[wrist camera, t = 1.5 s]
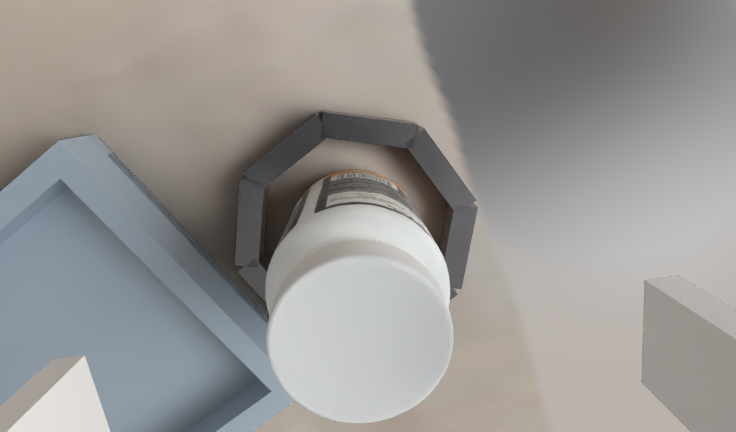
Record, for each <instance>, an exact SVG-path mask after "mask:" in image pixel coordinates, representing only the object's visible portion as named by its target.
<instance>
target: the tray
mask: <svg viewBox="0 0 736 432" xmlns="http://www.w3.org/2000/svg"><path fill="white" fill-rule="evenodd" d="M268 321H269V319H268V317H267V316H266V315H265V314H264V313H263V312H262V311H261V310H260V309H259V308H258V307H257V306H256V305H255V304H254V303H253V302H252V300H251V299H250V298H249V297H248V296H247V295H246V294H245V293H244V292H243V291H242V290H241V289H240V288H239V287H238V286H237V285H236V283H235V282H234V281H233V280H232V279H231V278H230V277H229V276H228V275H227V274H226V273H225V272H224V271H223V270H222V269H221V268H220V266H219V265H218V264H217V263H216V262H215V261H214V260H213V259H212V258H211V257H210V256H209V255H208V254H207V253H206V252H205V251H204V249H203V248H202V247H201V246H200V245H199V244H198V243H197V242H196V241H195V240H194V239H193V238H192V237H191V236H190V235H189V234H188V232H187V231H186V230H185V229H184V228H183V227H182V226H181V225H180V224H179V223H178V222H177V221H176V220H175V219H174V218H173V217H172V215H171V214H170V213H169V212H168V211H167V210H166V209H165V208H164V207H163V206H162V205H161V204H160V203H159V202H158V201H157V200H156V198H155V197H154V196H153V195H152V194H151V193H150V192H149V191H148V190H147V189H146V188H145V187H144V186H143V185H142V184H141V183H140V181H139V180H138V179H137V178H136V177H135V176H134V175H133V174H132V173H131V172H130V171H129V170H128V169H127V168H126V167H125V166H124V164H123V163H122V162H121V161H120V160H119V159H118V158H117V157H116V156H115V155H114V154H113V153H112V152H111V151H110V150H109V149H108V147H107V146H106V145H105V144H104V143H103V142H102V141H101V140H100V139H99V138H98V137H97V136H96V135H95V134H91V135H86V136H81V137H75V138H70V139H65V140H59V141H57V142H56V143H55V144H54V145H53V146H52V147H50V148H49V149H48V150H47V151H46V152H45V153H44V154H43V155H41V156H40V157H39V158H38V159H37V160H36V161H35V162H33V163H32V164H31V165H30V166H29V167H28V168H27V169H26V170H24V171H23V172H22V173H21V174H20V175H19V176H18V177H16V178H15V179H14V180H13V181H12V182H11V183H10V184H9V185H7V186H6V187H5V188H4V189H3V190H2V191H1V192H0V406H1V405H2V404H3V403H4V402H5V401H7V400H8V399H9V398H10V397H11V396H12V395H13V394H14V393H16V392H17V391H18V390H19V389H20V388H21V387H22V386H23V385H25V384H26V383H27V382H28V381H29V380H30V379H31V378H32V377H34V376H35V375H36V374H37V373H38V372H39V371H40V370H41V369H43V368H44V367H45V366H46V365H47V364H48V363H49V362H50V361H52V360H55V359H62V358H70V357H77V356H85V358H86V361H87V364H88V367H89V370H90V373H91V376H92V379H93V382H94V385H95V388H96V391H97V393H98V396H99V399H100V402H101V405H102V408H103V411H104V414H105V417H106V420H107V423H108V426H109V429H110V432H251V431H253V430H254V429H256V428H257V427H258V426H260V425H261V424H263V423H264V422H266V421H267V420H268V419H270V418H271V417H273V416H274V415H276V414H277V413H278V412H280V411H281V410H283V409H284V408H286V407H287V406H288V405H290V404H291V403H293V402H294V401H295V400H294V399H292V398H291V397H290V396H289V395H288V394H287V392H286V391H285V390H284V389H283V387H282V386H281V385H280V383H279V382H278V380H277V378H276V376H275V375H274V372H273V370H272V368H271V365H270V362H269V359H268V354H267V346H266V333H267V326H268Z"/></svg>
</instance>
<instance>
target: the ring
mask: <svg viewBox="0 0 736 432" xmlns="http://www.w3.org/2000/svg"><path fill="white" fill-rule="evenodd" d="M417 125H418V124H416V123H414V122H409V121H401V120H394V119H386V118H378V117H371V116H363V115H355V114H348V113H340V112H332V111H324V112H323V118H321V116H320V115H319V114H318V113H316V114H315V115H314V116H313V117H311V118H310V119H309V120H308V121H306V122H305V123H304V124H303V125H301V126H300V127H299V128H298V129H296V130H295V131H294V132H293V133H291V134H290V135H289V136H288V137H286V138H285V139H284V140H283V141H281V142H280V143H279V144H278V145H277V146H275V147H274V148H273V149H272V150H270V151H269V152H268V153H267V154H265V155H264V156H263V157H262V158H260V159H259V160H258V161H257V162H255V163H254V164H253V165H252V166H250V167H249V168H248V169H247V170H245V171H244V172H243V173H244V174H245V175H244V176H243V177H242V178H240V181H239V199H238V216H237V234H236V252H235V265H236V266H241V267H240V268H239V270H238V273H239V274H240V275H241V277H242V278H243V279H244V280H245V281H246V282H247V283H248V284H249V285H250V286H251V287H252V288H253V289H254V291H255V292H256V293H257V294H258V295H259V296H260V297H261V298H262V299H263V300H264V301H265V302H266V296H265V281H266V275H267V271H268V267H269V264H270V260H269V258H268V257H267V256H266V255H265V254H264V240H265V226H266V213H267V199H268V185H269V183H271V182H272V181H273V180H274V179H276V178H277V177H278V176H279V175H281V174H282V173H283V172H284V171H286V170H287V169H288V168H290V167H291V166H292V165H293V164H295V163H296V162H297V161H298V160H300V159H301V158H302V157H303V156H305V155H306V154H307V153H308V152H310V151H311V150H312V149H313V148H315V147H316V146H317V145H319V144H320V143H321V142H322V141H324V140H325V139H326V138H330V139H338V140H346V141H354V142H362V143H370V144H377V145H385V146H393V147H401V148H407V149H408V150H409V152H410V153H411V154H412V156H413V157H414V158H415V160H416V161H417V162H418V164H419V165H420V166H421V168H422V169H423V170H424V172H425V173H426V175H427V176H428V177H429V179H430V180H431V181H432V183H433V184H434V185H435V187H436V188H437V189H438V191H439V192H440V193H441V195H442V196H443V197H444V199H445V200H446V201H447V203H448V205H447V211H446V216H445V222H444V227H443V233H442V238H441V244H440V251H441V253H442V255H443V257H444V260H445V262H446V265H447V269H448V273H449V280H450V300H451V299H452V298H454V297H455V296H456V295H457V293H456V291H455V289H454V288H456V289H461V288H462V283H463V278H464V273H465V268H466V263H467V258H468V253H469V249H470V244H471V239H472V234H473V229H474V224H475V219H476V214H477V209H478V207H477V206H476V205H475V204H474V203H473V202H475V201H476V199H475V198H474V196H473V195H472V194H471V192H470V191H469V190H468V188H467V187H466V185H465V184H464V183H463V181H462V180H461V179H460V177H459V176H458V174H457V173H456V172H455V170H454V169H453V167H452V166H451V165H450V163H449V162H448V161H447V159H446V158H445V156H444V155H443V154H442V152H441V151H440V149H439V148H438V147H437V145H436V144H435V143H434V141H433V140H432V138H431V137H430V136H429V134H428V133H427V131H426V130H425V129H424V128H423V127H421V126H419V127H418V128H417Z"/></svg>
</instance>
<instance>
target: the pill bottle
mask: <svg viewBox="0 0 736 432" xmlns="http://www.w3.org/2000/svg"><path fill="white" fill-rule="evenodd" d="M265 296H266V304H267V309H268V314H269V321H268V326H267V333H266V346H267V354H268V359H269V362H270V365H271V368H272V370H273V372H274V375H275V376H276V378H277V380H278V382H279V383H280V385H281V386H282V387H283V389H284V390H285V391H286V392H287V394H288V395H289V396H290V397H291V398H292V399H294V400H295V401H296V402H297V403H298V404H300V405H301V406H302V407H304V408H306V409H307V410H309V411H311V412H313V413H315V414H317V415H319V416H322V417H325V418H328V419H331V420H334V421H339V422H346V423H369V422H376V421H381V420H385V419H389V418H391V417H394V416H397V415H399V414H401V413H403V412H405V411H407V410H409V409H411V408H412V407H414V406H416V405H417V404H418V403H419V402H421V401H422V400H423V399H424V398H425V397H427V396H428V395H429V394H430V393H431V391H432V390H433V389H434V388H435V387H436V386H437V384H438V383H439V381H440V380H441V378H442V376H443V375H444V373H445V371H446V369H447V366H448V363H449V361H450V358H451V353H452V348H453V324H452V319H451V315H450V312H449V309H448V307H449V301H450V280H449V273H448V269H447V265H446V262H445V260H444V257H443V255H442V253H441V251H440V249H439V247H438V245H437V244H436V243H435V241H434V239H433V238H432V236H431V234H430V233H429V231H428V229H427V228H426V226H425V224H424V223H423V221H422V219H421V218H420V216H419V214H418V212H417V210H416V209H415V207H414V205H413V203H412V202H411V200H410V199H409V198H408V196H407V195H406V194H405V192H404V191H403V190H402V189H401V188H400V187H399V186H397V185H396V184H395V183H394V182H392V181H391V180H389V179H388V178H386V177H384V176H382V175H379V174H377V173H374V172H370V171H365V170H344V171H340V172H336V173H333V174H330V175H328V176H326V177H323V178H322V179H320V180H319V181H317V182H316V183H314V184H313V185H312V186H311V187H310V188H309V189H308V190H307V191H306V192H305V193H304V194H303V196H302V197H301V198H300V200H299V201H298V203H297V204H296V206H295V208H294V210H293V212H292V214H291V217H290V219H289V221H288V224H287V226H286V228H285V230H284V232H283V234H282V236H281V238H280V241H279V243H278V245H277V247H276V249H275V251H274V253H273V256H272V258H271V261H270V264H269V267H268V271H267V275H266V281H265Z"/></svg>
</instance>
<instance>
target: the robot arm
mask: <svg viewBox="0 0 736 432" xmlns="http://www.w3.org/2000/svg"><path fill="white" fill-rule="evenodd" d="M643 314H644V315H643V347H642V383H643V384H644V385H645V386H646V387H647V388H648V389H649V390H650V391H651V392H652V393H653V394H654V395H655V397H656V398H657V399H658V400H660V402H662V404H664V406H665V407H666V408H667V409H668V410H669V411H670V412H671V413H672V414H673V415H674V416H675V417H677V419H678V420H679V421H680V422H681V423H682V424H683V425H684V426H685V427H686V428H687V429H688V430H689V431H690V432H736V308H734V307H732V306H730V305H729V304H727V303H725V302H723V301H721V300H720V299H718V298H716V297H715V296H713V295H711V294H709V293H707V292H706V291H704V290H702V289H700V288H699V287H697V286H695V285H693V284H692V283H690V282H688V281H686V280H685V279H683V278H681V277H679V276H670V277H662V278H655V279H648V280H645V281H644V313H643ZM0 432H110V429H109V426H108V423H107V420H106V417H105V414H104V411H103V408H102V405H101V402H100V399H99V396H98V393H97V391H96V388H95V385H94V382H93V379H92V376H91V373H90V370H89V367H88V364H87V361H86V358H85V356H77V357H70V358H62V359H55V360H52V361H50V362H49V363H48V364H47V365H46V366H45V367H44V368H43V369H41V370H40V371H39V372H38V373H37V374H36V375H35V376H34V377H32V378H31V379H30V380H29V381H28V382H27V383H26V384H25V385H23V386H22V387H21V388H20V389H19V390H18V391H17V392H16V393H14V394H13V395H12V396H11V397H10V398H9V399H8V400H7V401H5V402H4V403H3V404H2V405H1V406H0Z"/></svg>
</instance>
